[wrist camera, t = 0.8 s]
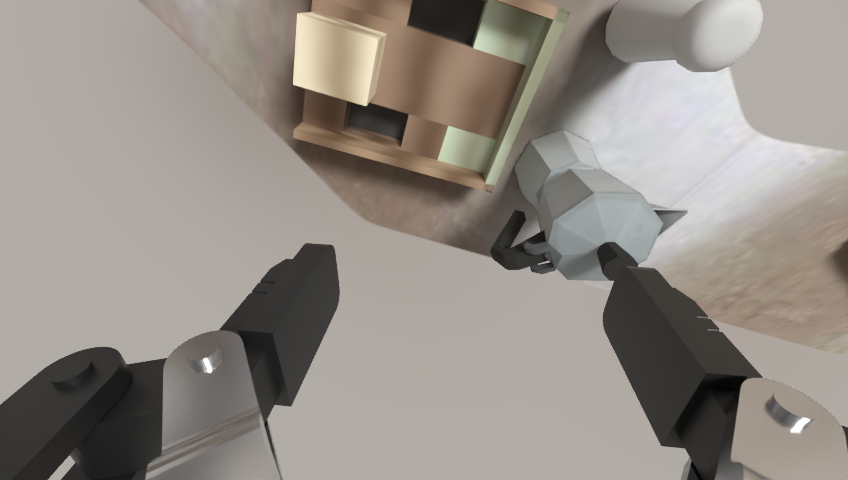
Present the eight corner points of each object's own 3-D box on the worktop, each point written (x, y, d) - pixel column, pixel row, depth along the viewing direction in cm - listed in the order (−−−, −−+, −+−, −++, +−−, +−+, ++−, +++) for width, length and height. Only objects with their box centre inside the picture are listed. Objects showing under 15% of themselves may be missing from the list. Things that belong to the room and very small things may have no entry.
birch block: (311, 73, 32) (292, 84, 28) (317, 11, 30) (297, 13, 25) (375, 93, 33) (366, 106, 29) (386, 33, 30) (378, 39, 26)
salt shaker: (585, 17, 31) (660, 27, 20) (650, -36, 29) (774, -56, 18) (613, 72, 34) (693, 107, 23) (675, 27, 31) (797, 43, 21)
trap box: (309, 122, 37) (293, 137, 33) (327, -70, 29) (307, -81, 24) (486, 172, 40) (491, 192, 36) (553, 10, 31) (570, 12, 27)
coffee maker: (608, 107, 35) (730, 186, 21) (617, 182, 40) (721, 290, 25) (467, 159, 39) (483, 257, 24) (489, 222, 44) (515, 338, 29)
